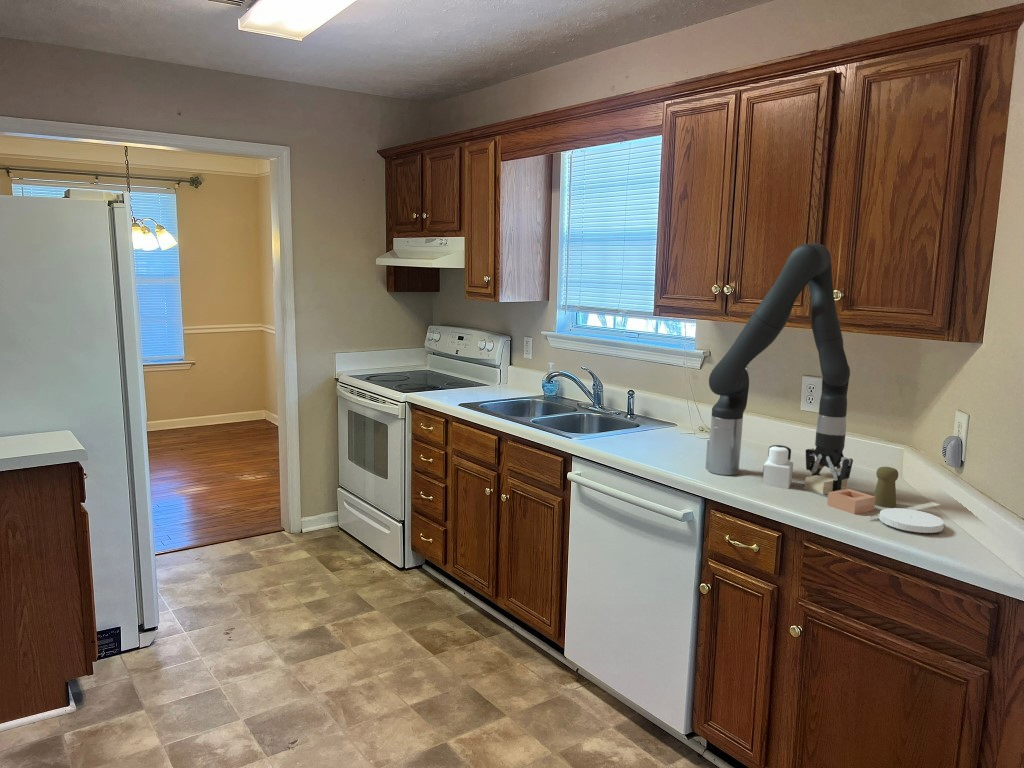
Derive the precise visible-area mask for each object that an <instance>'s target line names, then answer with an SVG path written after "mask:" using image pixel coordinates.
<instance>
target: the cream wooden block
mask: <svg viewBox="0 0 1024 768" xmlns="http://www.w3.org/2000/svg"><path fill="white" fill-rule="evenodd" d="M819 474H820V475H814V476H812V475H810V476H805V480H804V481H805V483H804V485H805V489H806V490H809V491H813V492H816V493H819V494H822V495H824V494H828V492H832V489H833V480H834V477H833V474H832V472H831V473H830V472H828V473H827V472H826V473H822V474H821V473H819ZM843 489H848V479H844V480H842V483H841V490H843Z"/></svg>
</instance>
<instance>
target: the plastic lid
mask: <svg viewBox="0 0 1024 768" xmlns="http://www.w3.org/2000/svg"><path fill="white" fill-rule="evenodd" d="M879 521H880V522H882V523H883V524H885V525H887V526H890V527H892V528H895V529H899V530H902V531H907V532H914V533H922V534H923V533H924V534H929V533H930V534H933V533H939V532H942V531H943V530H944V525H945V521H944V520H943V519H942V518H940V517H939V516H937V515H935V514H932V513H928V512H925V511H920V510H916V509H910V508H903V507H902V508H899V507H894V508H884V509H881V510H880V512H879Z"/></svg>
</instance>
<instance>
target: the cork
mask: <svg viewBox="0 0 1024 768" xmlns="http://www.w3.org/2000/svg"><path fill="white" fill-rule="evenodd" d="M876 477H877V482H876V485H875V490H874V493H873V496H875V497H876V498H875V506H876V507H881V508H884V509H888V508H897V494H896V493H897V491H896V490H897V489H896V482H897V480H898V479H899V471H898V470H897V469H896V468H894V467H889V466H880V467H878V468H877V469H876Z"/></svg>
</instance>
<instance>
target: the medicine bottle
mask: <svg viewBox="0 0 1024 768" xmlns="http://www.w3.org/2000/svg"><path fill="white" fill-rule="evenodd" d="M767 452H768V453H767V454H768V455H767V460H766V461H765V462H764V464H763V470H762V472H763V473H762V481H761V484H762V485H761V486H767V487H768V486H769V487H774V488H782V489H788V490H789V489H790V487H791V485H792V484H793V482H792V481H793V474H794V473H793V472H794V462H792V461H791V456H792V449H791V448H790V447H788V446H786V445H782V444H781V445H780V444H773V445H771V446H769V447H768V451H767Z"/></svg>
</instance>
